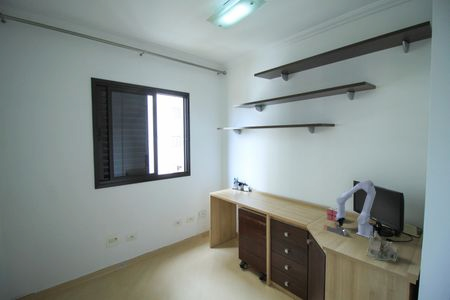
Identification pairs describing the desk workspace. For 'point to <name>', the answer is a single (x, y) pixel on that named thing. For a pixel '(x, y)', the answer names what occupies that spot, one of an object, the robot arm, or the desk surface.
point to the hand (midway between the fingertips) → (340, 225)
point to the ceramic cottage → (381, 249)
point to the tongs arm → (338, 227)
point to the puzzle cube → (332, 214)
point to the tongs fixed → (335, 230)
